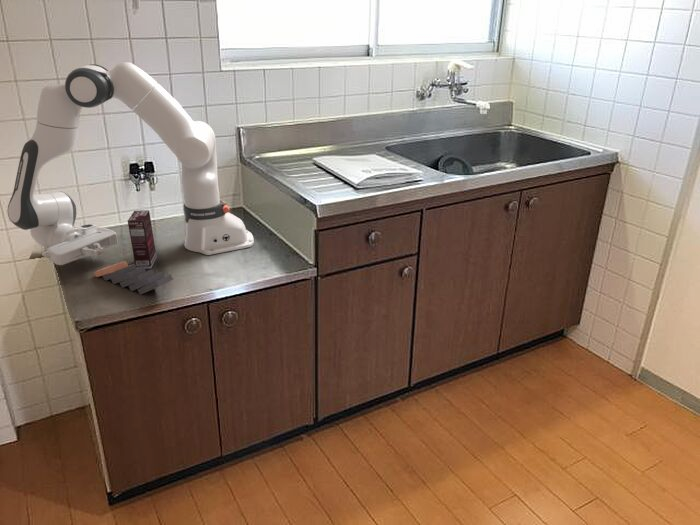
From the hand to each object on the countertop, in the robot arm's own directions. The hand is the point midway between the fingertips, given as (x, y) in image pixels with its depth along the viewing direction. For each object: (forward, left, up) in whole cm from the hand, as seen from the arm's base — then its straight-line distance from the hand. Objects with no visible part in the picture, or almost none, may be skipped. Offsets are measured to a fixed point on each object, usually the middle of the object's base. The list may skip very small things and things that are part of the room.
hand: (100, 252), depth 173 cm
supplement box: (-12, -4, -7) cm, 15 cm away
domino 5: (-10, +12, -6) cm, 16 cm away
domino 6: (-12, +14, -6) cm, 20 cm away
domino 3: (-5, +6, -6) cm, 10 cm away
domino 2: (-2, +3, -6) cm, 7 cm away
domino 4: (-7, +9, -6) cm, 13 cm away
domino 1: (0, 0, -6) cm, 6 cm away
